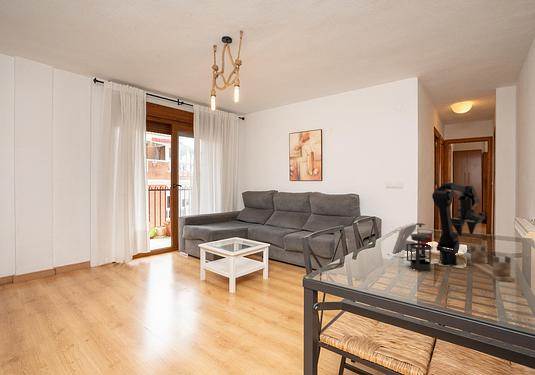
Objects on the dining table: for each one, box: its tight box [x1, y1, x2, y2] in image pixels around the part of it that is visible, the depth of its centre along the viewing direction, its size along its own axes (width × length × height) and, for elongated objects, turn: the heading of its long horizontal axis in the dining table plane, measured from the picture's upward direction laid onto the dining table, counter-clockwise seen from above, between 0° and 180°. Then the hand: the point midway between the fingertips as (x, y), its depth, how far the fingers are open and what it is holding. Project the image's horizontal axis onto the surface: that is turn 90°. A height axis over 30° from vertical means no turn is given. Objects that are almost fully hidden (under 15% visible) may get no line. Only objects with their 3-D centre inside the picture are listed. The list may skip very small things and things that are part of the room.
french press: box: [406, 222, 432, 272], centre depth 140 cm, size 12×9×23 cm
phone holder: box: [391, 222, 417, 254], centre depth 166 cm, size 17×10×18 cm, turn 128°
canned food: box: [417, 229, 433, 247], centre depth 176 cm, size 8×8×11 cm
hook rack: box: [467, 245, 516, 283], centre depth 132 cm, size 6×24×10 cm, turn 171°
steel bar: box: [463, 252, 488, 264], centre depth 156 cm, size 2×22×3 cm, turn 19°
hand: (465, 235), depth 157 cm, fingers open, 9 cm apart
